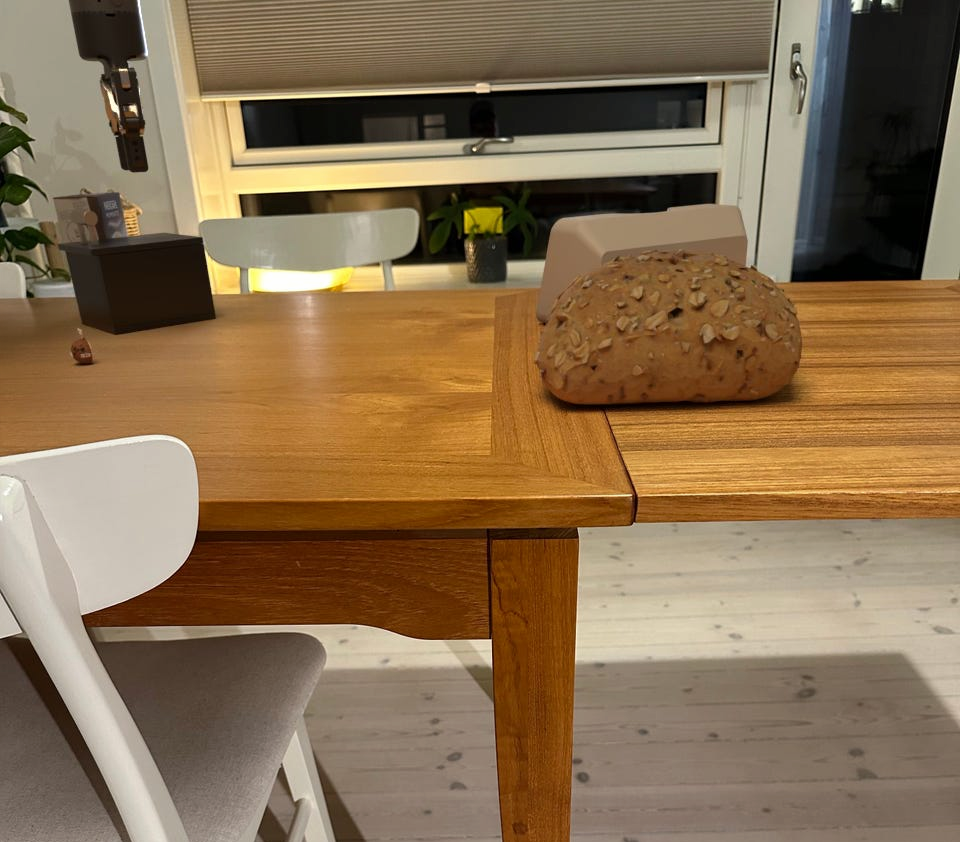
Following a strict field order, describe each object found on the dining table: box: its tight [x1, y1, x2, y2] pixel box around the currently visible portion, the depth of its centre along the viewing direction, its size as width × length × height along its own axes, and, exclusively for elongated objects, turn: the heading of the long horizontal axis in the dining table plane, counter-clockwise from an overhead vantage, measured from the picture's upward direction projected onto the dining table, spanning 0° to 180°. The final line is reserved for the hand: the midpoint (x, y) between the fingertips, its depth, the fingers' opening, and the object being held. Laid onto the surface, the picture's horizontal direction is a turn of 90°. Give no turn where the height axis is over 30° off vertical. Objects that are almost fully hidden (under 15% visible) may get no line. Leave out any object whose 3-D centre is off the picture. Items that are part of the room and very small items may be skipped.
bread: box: [532, 249, 803, 406], centre depth 89 cm, size 24×21×12 cm
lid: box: [57, 210, 204, 256], centre depth 129 cm, size 15×13×5 cm
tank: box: [535, 203, 749, 324], centre depth 117 cm, size 25×16×12 cm, turn 119°
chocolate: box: [69, 328, 94, 365], centre depth 110 cm, size 3×2×4 cm
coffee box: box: [52, 191, 129, 315], centre depth 141 cm, size 9×6×16 cm
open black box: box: [64, 243, 217, 335], centre depth 133 cm, size 15×13×10 cm
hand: (134, 171), depth 115 cm, fingers open, 8 cm apart
